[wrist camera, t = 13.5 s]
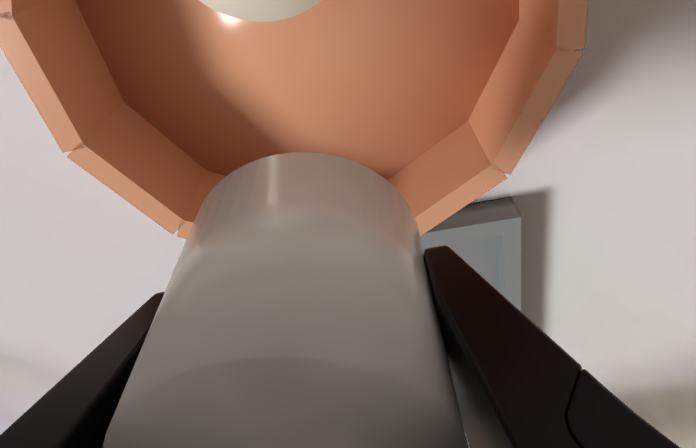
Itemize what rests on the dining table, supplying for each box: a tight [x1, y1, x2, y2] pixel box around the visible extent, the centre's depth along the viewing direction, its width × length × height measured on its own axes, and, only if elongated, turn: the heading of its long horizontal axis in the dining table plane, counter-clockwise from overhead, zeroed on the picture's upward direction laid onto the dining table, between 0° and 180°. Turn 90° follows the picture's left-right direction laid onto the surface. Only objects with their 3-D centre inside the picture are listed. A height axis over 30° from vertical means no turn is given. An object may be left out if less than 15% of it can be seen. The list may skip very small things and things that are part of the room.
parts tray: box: [420, 197, 521, 438], centre depth 24 cm, size 14×13×1 cm
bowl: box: [0, 0, 588, 239], centre depth 14 cm, size 14×14×4 cm
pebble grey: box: [103, 152, 468, 448], centre depth 8 cm, size 4×4×4 cm
